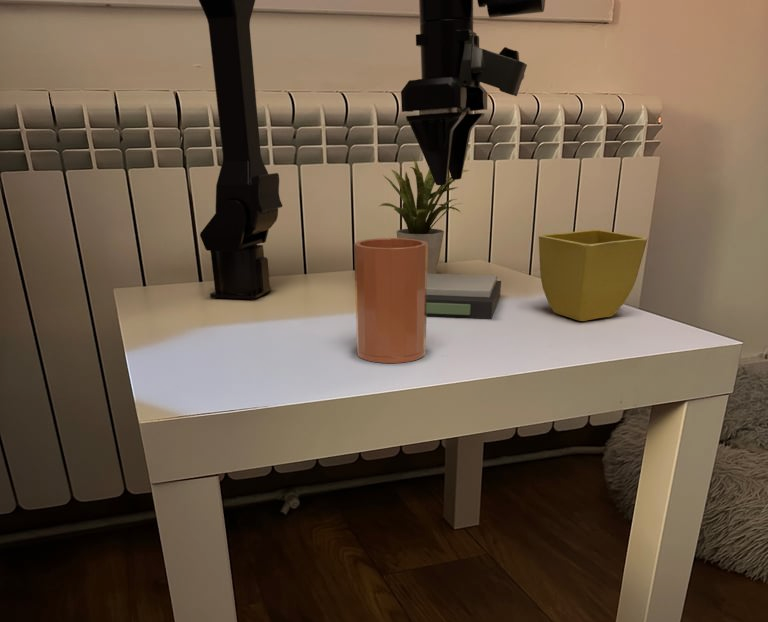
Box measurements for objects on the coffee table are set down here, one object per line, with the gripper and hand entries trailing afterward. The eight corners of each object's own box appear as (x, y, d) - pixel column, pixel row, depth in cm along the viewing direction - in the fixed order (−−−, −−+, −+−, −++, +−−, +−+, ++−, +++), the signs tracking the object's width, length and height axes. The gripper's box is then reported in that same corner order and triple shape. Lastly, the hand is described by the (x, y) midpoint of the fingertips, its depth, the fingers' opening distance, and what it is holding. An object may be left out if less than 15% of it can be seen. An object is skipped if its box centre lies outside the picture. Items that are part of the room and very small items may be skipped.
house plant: (475, 284, 104) (482, 157, 96) (378, 285, 103) (377, 158, 96) (464, 267, 116) (469, 153, 108) (377, 268, 116) (376, 154, 108)
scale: (399, 315, 87) (399, 291, 86) (418, 293, 99) (419, 271, 97) (490, 319, 85) (492, 295, 84) (500, 296, 97) (501, 274, 95)
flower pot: (578, 328, 81) (588, 243, 77) (530, 312, 88) (536, 234, 84) (637, 319, 85) (649, 237, 80) (586, 305, 92) (595, 229, 87)
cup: (349, 361, 71) (346, 247, 66) (366, 342, 77) (364, 237, 72) (418, 365, 69) (420, 249, 64) (430, 346, 75) (432, 238, 70)
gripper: (511, 2, 68) (508, 184, 75) (531, 24, 84) (527, 173, 91) (396, 15, 71) (403, 189, 78) (436, 34, 87) (440, 178, 94)
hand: (449, 182), depth 85 cm, fingers open, 9 cm apart
